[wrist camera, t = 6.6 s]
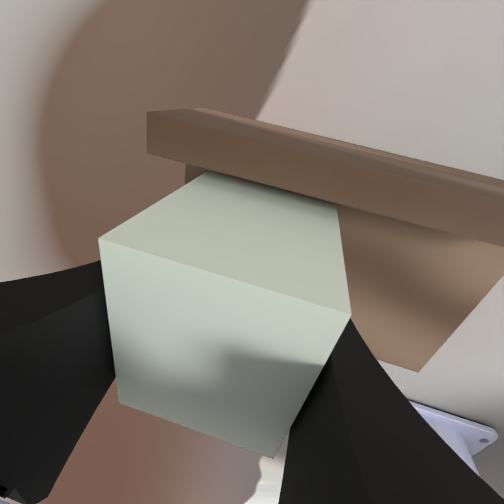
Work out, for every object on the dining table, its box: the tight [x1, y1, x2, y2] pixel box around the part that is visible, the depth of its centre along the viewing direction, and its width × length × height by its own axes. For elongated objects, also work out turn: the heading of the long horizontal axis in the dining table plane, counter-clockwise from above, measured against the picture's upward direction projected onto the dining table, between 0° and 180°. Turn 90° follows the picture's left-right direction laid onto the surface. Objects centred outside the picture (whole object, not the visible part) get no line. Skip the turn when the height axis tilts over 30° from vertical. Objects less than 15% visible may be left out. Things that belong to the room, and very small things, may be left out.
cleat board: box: [147, 108, 504, 372], centre depth 12 cm, size 10×14×4 cm
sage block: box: [98, 171, 352, 459], centre depth 9 cm, size 6×5×6 cm
